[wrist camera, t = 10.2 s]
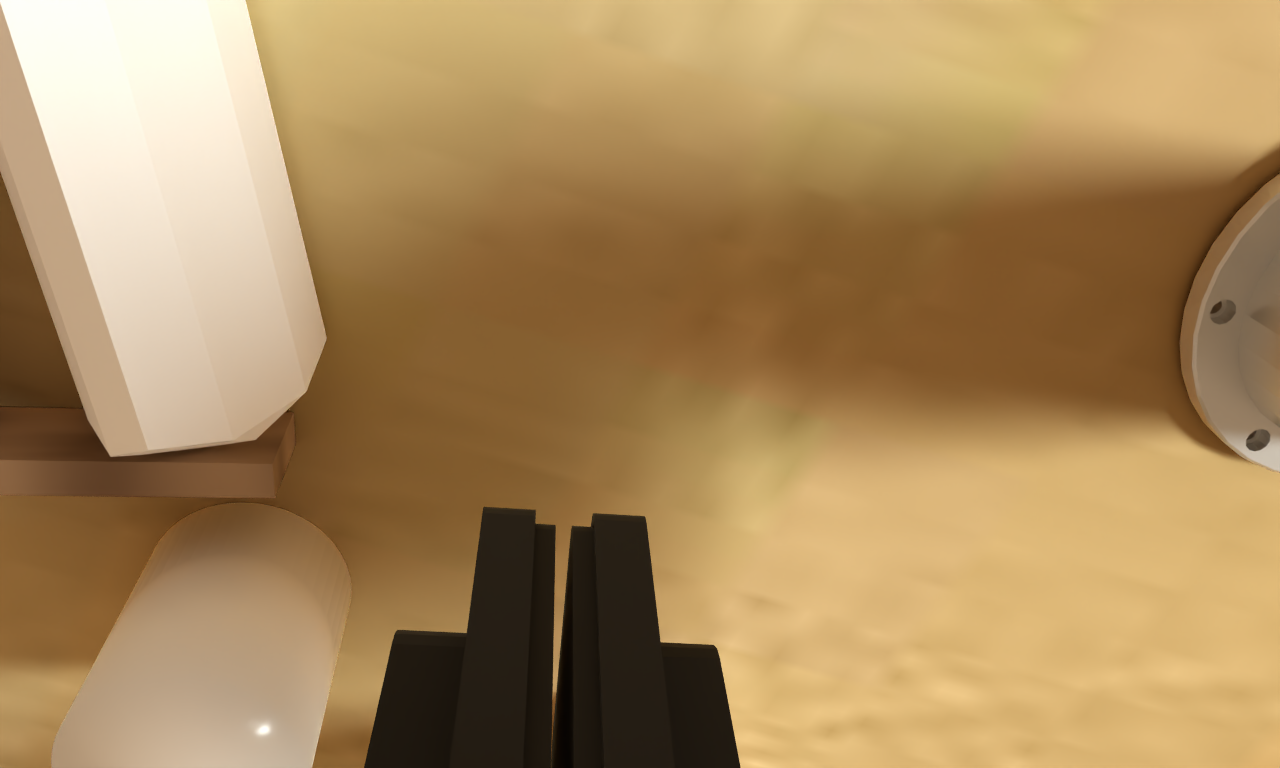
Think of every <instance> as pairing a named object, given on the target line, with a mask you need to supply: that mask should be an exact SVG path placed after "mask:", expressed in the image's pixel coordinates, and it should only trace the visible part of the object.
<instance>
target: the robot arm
mask: <svg viewBox="0 0 1280 768" xmlns="http://www.w3.org/2000/svg"><path fill="white" fill-rule="evenodd" d="M1180 356H1181V372H1182V376H1183V379H1184V382H1185V385H1186V389H1187V392H1188V395H1189V399H1190V401H1191V402H1192V404H1193V406H1194V408H1195V409H1196V411H1197V413H1198V414H1199V416H1200V418H1201V419H1202V421H1203V423H1204V424H1205V425H1206V426H1207V427H1208V428H1209V429H1210V430H1211V431H1212V432H1213V433H1214V434H1215V435H1216V436H1217V437H1218V438H1219V439H1220V440H1221V441H1222V442H1224V443H1225V444H1226V445H1227V446H1229V447H1230V448H1231V449H1232V450H1234V451H1235V452H1236V453H1237V454H1238V455H1240V456H1241V457H1243V458H1244V459H1246V460H1248V461H1250V462H1252V463H1255V464H1257V465H1259V466H1261V467H1264V468H1266V469H1268V470H1270V471H1274V472H1279V473H1280V174H1278V175H1277V176H1276V177H1274V178H1273V179H1272V180H1270V181H1269V182H1267V183H1266V184H1265V185H1264V186H1263V187H1262V188H1261V189H1260V190H1259V191H1258V192H1257V193H1256V194H1255V195H1254V196H1253V197H1252V198H1251V199H1250V200H1249V201H1248V202H1247V203H1246V204H1245V205H1243V206H1242V207H1241V208H1240V209H1239V210H1238V211H1237V212H1236V214H1235V215H1234V216H1233V218H1232V219H1231V220H1230V222H1229V223H1228V224H1227V226H1226V227H1225V228H1224V230H1223V231H1222V232H1221V234H1220V235H1219V236H1218V238H1217V239H1216V240H1215V242H1214V243H1213V244H1212V246H1211V248H1210V250H1209V252H1208V254H1207V256H1206V258H1205V259H1204V261H1203V263H1202V265H1201V267H1200V269H1199V271H1198V273H1197V274H1196V276H1195V279H1194V282H1193V285H1192V288H1191V291H1190V294H1189V297H1188V300H1187V303H1186V306H1185V309H1184V314H1183V322H1182V329H1181V336H1180ZM535 516H536V510H527V509H510V508H492V507H484V508H483V514H482V522H481V530H480V537H479V545H478V552H477V560H476V568H475V575H474V583H473V590H472V598H471V606H470V613H469V621H468V629H467V633H451V632H430V631H409V630H397V631H396V633H395V635H394V639H393V642H392V646H391V651H390V655H389V660H388V664H387V668H386V673H385V677H384V682H383V686H382V691H381V695H380V700H379V704H378V708H377V713H376V717H375V722H374V726H373V731H372V735H371V740H370V744H369V748H368V753H367V757H366V762H365V766H364V768H740V763H739V757H738V752H737V747H736V741H735V736H734V731H733V726H732V720H731V715H730V710H729V705H728V699H727V694H726V689H725V683H724V678H723V673H722V668H721V662H720V658H719V654H718V650H717V648H716V647H715V646H714V645H702V644H681V643H660V634H659V626H658V617H657V609H656V600H655V591H654V583H653V574H652V566H651V557H650V549H649V540H648V532H647V523H646V518H645V517H644V516H630V515H613V514H596V513H593V516H592V522H591V527H581V526H572V529H571V538H570V548H569V559H568V571H567V582H566V593H565V604H564V615H563V626H562V637H561V648H560V660H559V671H558V682H557V693H556V704H555V715H554V726H553V740H552V759H551V739H552V687H553V635H554V583H555V531H556V526H555V525H546V524H535Z"/></svg>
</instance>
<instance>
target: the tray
mask: <svg viewBox="0 0 1280 768" xmlns="http://www.w3.org/2000/svg"><path fill="white" fill-rule="evenodd" d="M295 445H296V439H295V425H294V412H284V413H283V414H282V415H281V416H280V417H279V418H278V419H277V420H276V421H275V422H274V423H273V424H272V425H271V426H270V427H269V428H268V429H267V430H265V431H264V432H263V433H262V434H261V435H260V436H259V437H258V438H257V439H256V440H252V441H245V442H239V443H232V444H226V445H219V446H212V447H204V448H196V449H187V450H179V451H170V452H162V453H153V454H144V455H132V456H117V457H110V455H109V454H108V452H107V450H106V449H105V447H104V445H103V444H102V442H101V441H100V439H99V437H98V436H97V434H96V432H95V431H94V429H93V428H92V426H91V424H90V423H89V421H88V419H87V416H86V413H85V410H84V408H35V407H0V495H34V496H124V497H214V498H275V497H276V495H277V492H278V489H279V487H280V484H281V482H282V479H283V476H284V474H285V471H286V469H287V466H288V463H289V461H290V458H291V456H292V453H293V451H294V448H295Z"/></svg>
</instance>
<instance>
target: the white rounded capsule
mask: <svg viewBox="0 0 1280 768" xmlns="http://www.w3.org/2000/svg"><path fill="white" fill-rule="evenodd" d="M351 591H352V587H351V579H350V574H349V571H348V567H347V565H346V563H345V560H344V558H343V556H342V554H341V553H340V551H339V550H338V548H337V547H336V545H335V544H334V543H333V542H332V541H331V540H330V538H329V537H328V536H327V535H326V534H324V533H323V532H322V531H321V530H320V529H319V528H318V527H316V526H315V525H313V524H312V523H311V522H309V521H308V520H306V519H304V518H302V517H300V516H298V515H297V514H294V513H292V512H289V511H287V510H284V509H281V508H278V507H274V506H271V505H265V504H259V503H248V502H236V503H225V504H219V505H214V506H210V507H207V508H203V509H201V510H198V511H196V512H194V513H191V514H190V515H188V516H186V517H184V518H183V519H181V520H180V521H178V522H177V523H176V524H175V525H173V526H172V527H171V528H170V529H169V530H168V531H167V532H166V533H165V534H164V535H163V537H162V538H161V539H160V541H159V542H158V544H157V545H156V547H155V549H154V551H153V553H152V555H151V557H150V558H149V560H148V562H147V564H146V566H145V568H144V570H143V572H142V574H141V575H140V577H139V579H138V581H137V583H136V585H135V587H134V589H133V590H132V592H131V594H130V596H129V598H128V600H127V602H126V604H125V606H124V607H123V609H122V611H121V613H120V615H119V617H118V619H117V621H116V622H115V624H114V626H113V628H112V630H111V632H110V634H109V636H108V638H107V639H106V641H105V643H104V645H103V647H102V649H101V651H100V653H99V654H98V656H97V658H96V660H95V662H94V664H93V666H92V668H91V670H90V671H89V673H88V675H87V677H86V679H85V681H84V683H83V685H82V686H81V688H80V690H79V692H78V694H77V696H76V698H75V700H74V701H73V703H72V705H71V707H70V709H69V711H68V713H67V715H66V717H65V718H64V720H63V722H62V724H61V726H60V728H59V730H58V732H57V734H56V737H55V740H54V744H53V748H52V756H51V765H52V768H312V765H313V761H314V757H315V752H316V748H317V744H318V740H319V735H320V731H321V727H322V723H323V718H324V714H325V710H326V705H327V701H328V697H329V693H330V688H331V684H332V680H333V675H334V671H335V667H336V663H337V658H338V654H339V650H340V645H341V641H342V637H343V633H344V628H345V624H346V620H347V616H348V611H349V607H350V602H351Z"/></svg>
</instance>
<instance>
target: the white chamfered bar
mask: <svg viewBox="0 0 1280 768" xmlns="http://www.w3.org/2000/svg"><path fill="white" fill-rule="evenodd" d="M0 172H1V175H2V178H3V181H4V183H5V186H6V189H7V192H8V195H9V198H10V201H11V203H12V206H13V209H14V212H15V215H16V218H17V220H18V223H19V226H20V229H21V232H22V235H23V237H24V240H25V243H26V246H27V249H28V252H29V254H30V257H31V260H32V263H33V266H34V269H35V271H36V274H37V277H38V280H39V283H40V286H41V288H42V291H43V294H44V297H45V300H46V303H47V305H48V308H49V311H50V314H51V317H52V320H53V323H54V325H55V328H56V331H57V334H58V337H59V340H60V342H61V345H62V348H63V351H64V354H65V357H66V359H67V362H68V365H69V368H70V371H71V374H72V376H73V379H74V382H75V385H76V388H77V391H78V393H79V396H80V399H81V402H82V405H83V408H84V410H85V413H86V416H87V419H88V421H89V423H90V424H91V426H92V428H93V429H94V431H95V432H96V434H97V436H98V437H99V439H100V441H101V442H102V444H103V445H104V447H105V449H106V450H107V452H108V454H109V455H110V457H117V456H132V455H144V454H153V453H162V452H170V451H179V450H187V449H196V448H204V447H212V446H219V445H226V444H232V443H239V442H245V441H252V440H256V439H257V438H258V437H259V436H260V435H261V434H262V433H263V432H264V431H265V430H267V429H268V428H269V427H270V426H271V425H272V424H273V423H274V422H275V421H276V420H277V419H278V418H279V417H280V416H281V415H282V414H283V413H284V412H286V411H287V410H288V409H289V408H290V407H291V406H292V405H293V404H294V403H295V402H296V401H297V400H298V399H299V398H300V397H301V396H302V395H303V394H305V393H306V392H307V389H308V386H309V384H310V381H311V379H312V376H313V373H314V371H315V368H316V366H317V363H318V360H319V358H320V355H321V353H322V350H323V347H324V345H325V342H326V340H327V336H326V332H325V328H324V324H323V320H322V316H321V312H320V307H319V303H318V299H317V295H316V291H315V287H314V283H313V278H312V274H311V270H310V266H309V262H308V258H307V254H306V249H305V245H304V241H303V237H302V233H301V229H300V225H299V220H298V216H297V212H296V208H295V204H294V200H293V196H292V191H291V187H290V183H289V179H288V175H287V171H286V167H285V162H284V158H283V154H282V150H281V146H280V142H279V138H278V133H277V129H276V125H275V121H274V117H273V113H272V109H271V104H270V100H269V96H268V92H267V88H266V84H265V80H264V75H263V71H262V67H261V63H260V59H259V55H258V51H257V46H256V42H255V38H254V34H253V30H252V26H251V21H250V17H249V13H248V9H247V5H246V1H245V0H0Z"/></svg>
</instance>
